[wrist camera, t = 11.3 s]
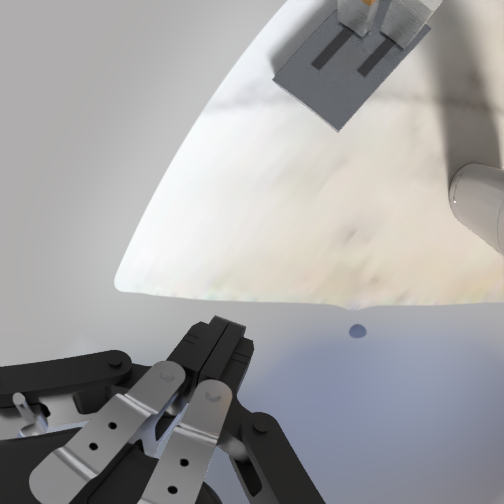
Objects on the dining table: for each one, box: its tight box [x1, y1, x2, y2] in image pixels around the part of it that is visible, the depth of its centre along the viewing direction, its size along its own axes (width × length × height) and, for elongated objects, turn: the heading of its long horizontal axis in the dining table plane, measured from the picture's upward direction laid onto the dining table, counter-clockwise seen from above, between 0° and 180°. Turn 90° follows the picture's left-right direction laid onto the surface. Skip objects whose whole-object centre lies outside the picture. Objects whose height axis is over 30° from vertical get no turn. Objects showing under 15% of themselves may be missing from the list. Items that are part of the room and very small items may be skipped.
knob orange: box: [337, 0, 380, 37], centre depth 19 cm, size 2×4×12 cm, turn 52°
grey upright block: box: [380, 0, 443, 49], centre depth 18 cm, size 2×4×12 cm, turn 52°
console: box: [272, 0, 431, 132], centre depth 28 cm, size 20×10×4 cm, turn 142°
